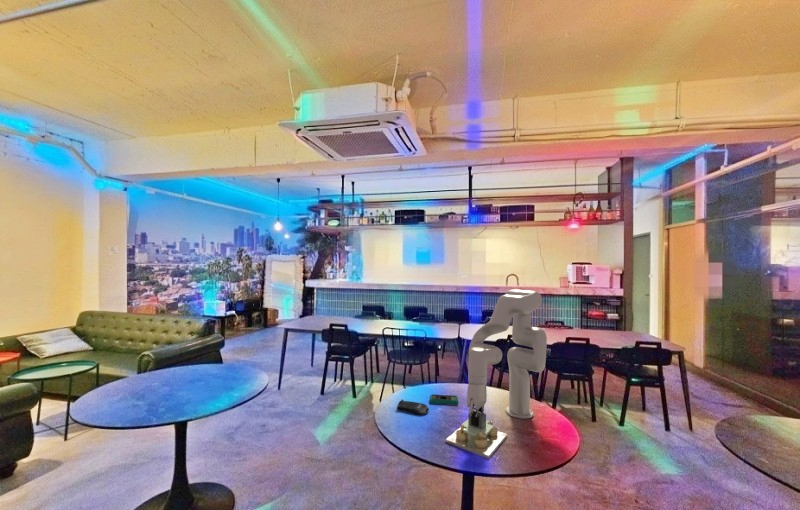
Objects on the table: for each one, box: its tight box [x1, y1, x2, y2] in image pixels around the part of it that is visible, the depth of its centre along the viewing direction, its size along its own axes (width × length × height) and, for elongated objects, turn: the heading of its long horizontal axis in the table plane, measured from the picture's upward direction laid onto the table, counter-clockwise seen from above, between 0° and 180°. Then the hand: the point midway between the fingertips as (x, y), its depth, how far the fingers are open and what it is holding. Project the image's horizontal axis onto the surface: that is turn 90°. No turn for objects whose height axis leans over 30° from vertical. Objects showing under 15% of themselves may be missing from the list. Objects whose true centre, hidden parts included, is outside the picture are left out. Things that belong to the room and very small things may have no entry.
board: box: [462, 409, 494, 436], centre depth 135 cm, size 14×11×6 cm
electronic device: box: [396, 399, 430, 416], centre depth 162 cm, size 9×6×15 cm
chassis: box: [445, 419, 508, 459], centre depth 135 cm, size 20×18×7 cm
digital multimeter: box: [429, 393, 459, 406], centre depth 172 cm, size 7×15×3 cm, turn 84°
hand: (477, 422), depth 135 cm, fingers closed on board, 4 cm apart
